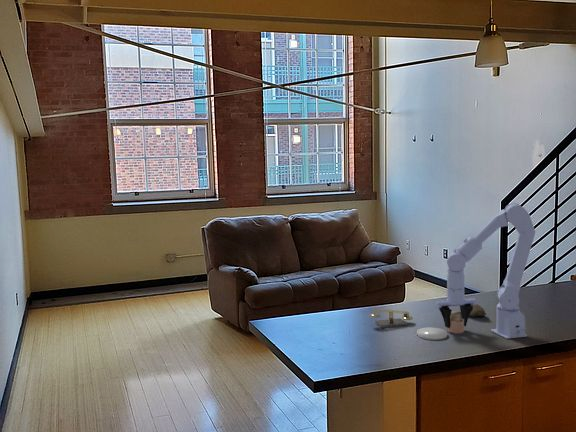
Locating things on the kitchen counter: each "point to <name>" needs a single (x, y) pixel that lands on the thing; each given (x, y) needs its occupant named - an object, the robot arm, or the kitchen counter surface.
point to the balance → (391, 318)
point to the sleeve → (456, 326)
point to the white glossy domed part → (432, 333)
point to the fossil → (477, 311)
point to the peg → (455, 316)
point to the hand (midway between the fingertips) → (455, 326)
